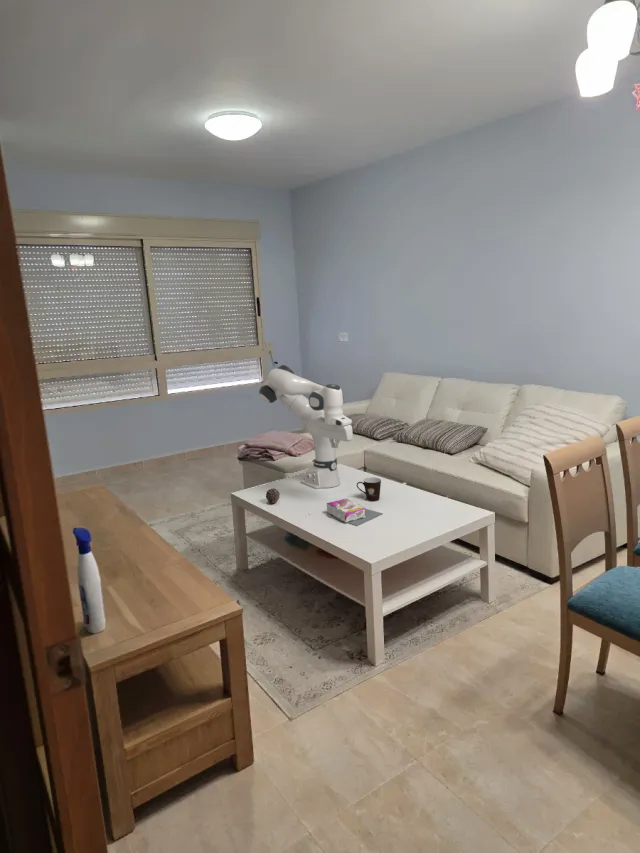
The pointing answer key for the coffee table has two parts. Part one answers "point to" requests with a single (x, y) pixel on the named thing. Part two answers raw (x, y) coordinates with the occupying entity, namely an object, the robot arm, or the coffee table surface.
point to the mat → (369, 516)
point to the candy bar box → (346, 510)
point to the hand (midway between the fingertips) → (334, 447)
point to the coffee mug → (371, 488)
